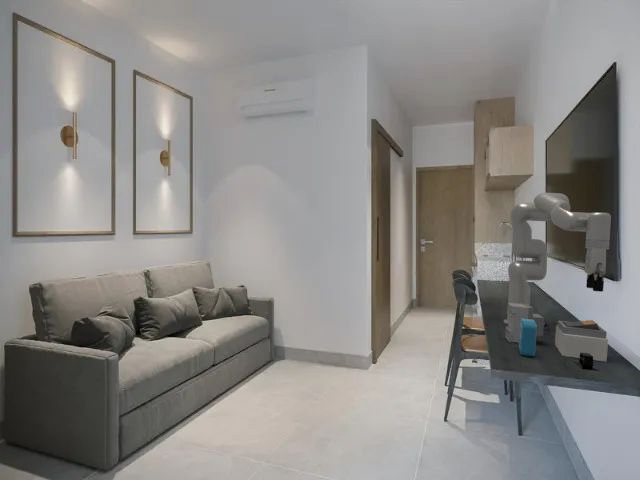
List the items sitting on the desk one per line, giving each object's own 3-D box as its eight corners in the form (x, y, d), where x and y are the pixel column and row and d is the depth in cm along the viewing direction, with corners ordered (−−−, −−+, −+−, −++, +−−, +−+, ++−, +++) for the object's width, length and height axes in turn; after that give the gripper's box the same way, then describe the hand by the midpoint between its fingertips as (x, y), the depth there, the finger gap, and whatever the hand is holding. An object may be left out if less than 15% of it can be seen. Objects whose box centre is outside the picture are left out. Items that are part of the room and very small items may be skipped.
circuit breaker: (546, 345, 169) (549, 309, 169) (509, 342, 172) (511, 306, 171) (541, 340, 177) (543, 305, 176) (505, 337, 179) (507, 302, 179)
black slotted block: (568, 360, 152) (569, 348, 152) (590, 363, 151) (591, 350, 151) (581, 371, 140) (582, 358, 140) (605, 374, 139) (606, 361, 138)
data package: (518, 347, 165) (520, 317, 164) (531, 349, 163) (533, 319, 162) (521, 356, 153) (523, 323, 153) (534, 358, 152) (537, 325, 151)
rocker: (564, 326, 166) (563, 322, 166) (593, 324, 162) (592, 319, 162) (568, 330, 159) (567, 325, 159) (598, 328, 156) (597, 323, 156)
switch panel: (554, 344, 171) (556, 319, 171) (594, 349, 166) (596, 323, 166) (562, 355, 156) (564, 328, 156) (606, 361, 151) (608, 333, 151)
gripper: (580, 244, 168) (578, 286, 168) (591, 244, 152) (588, 291, 152) (602, 245, 165) (599, 287, 166) (615, 246, 149) (612, 293, 150)
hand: (594, 289), depth 159 cm, fingers open, 9 cm apart
